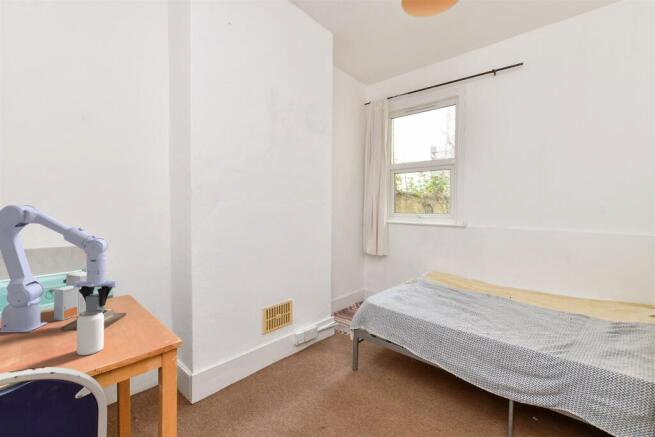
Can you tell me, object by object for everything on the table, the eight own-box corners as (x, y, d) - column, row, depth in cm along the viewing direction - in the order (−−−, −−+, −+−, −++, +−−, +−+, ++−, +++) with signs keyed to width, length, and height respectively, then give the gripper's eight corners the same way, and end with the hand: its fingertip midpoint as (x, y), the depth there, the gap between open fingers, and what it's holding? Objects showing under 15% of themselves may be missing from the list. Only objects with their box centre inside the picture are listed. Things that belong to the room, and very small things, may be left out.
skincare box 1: (62, 320, 112) (62, 290, 112) (53, 319, 113) (53, 289, 112) (78, 315, 118) (78, 286, 118) (70, 314, 119) (70, 285, 118)
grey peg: (85, 315, 109) (85, 296, 109) (93, 311, 113) (93, 293, 113) (97, 315, 110) (97, 296, 109) (104, 311, 114) (104, 293, 113)
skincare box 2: (64, 310, 122) (64, 274, 122) (81, 305, 129) (82, 270, 128) (78, 313, 120) (78, 275, 119) (95, 308, 126) (95, 272, 126)
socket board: (61, 329, 104) (61, 320, 104) (89, 315, 118) (89, 306, 118) (103, 329, 106) (103, 319, 106) (125, 315, 120) (126, 306, 120)
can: (87, 345, 94) (87, 308, 93) (108, 345, 94) (108, 309, 94) (71, 356, 87) (71, 316, 87) (94, 355, 88) (94, 316, 87)
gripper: (67, 272, 107) (67, 309, 107) (109, 273, 108) (109, 309, 109) (81, 268, 114) (81, 303, 114) (121, 269, 115) (121, 303, 116)
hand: (96, 305), depth 112 cm, fingers closed on grey peg, 4 cm apart
